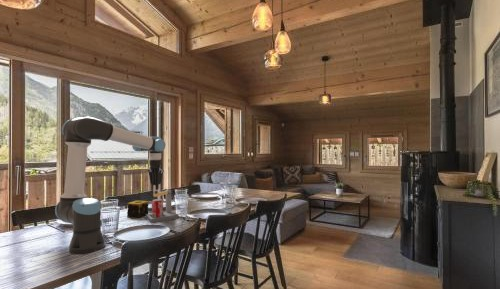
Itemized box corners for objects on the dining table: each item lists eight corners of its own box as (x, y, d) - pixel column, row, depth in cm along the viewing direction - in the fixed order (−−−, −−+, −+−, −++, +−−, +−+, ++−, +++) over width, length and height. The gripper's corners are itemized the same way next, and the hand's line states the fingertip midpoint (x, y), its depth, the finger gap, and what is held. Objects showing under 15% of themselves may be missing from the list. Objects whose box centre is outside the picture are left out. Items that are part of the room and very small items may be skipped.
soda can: (159, 220, 180) (159, 201, 180) (149, 220, 182) (149, 200, 182) (165, 217, 187) (165, 198, 187) (155, 217, 189) (155, 198, 189)
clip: (168, 192, 196) (168, 188, 196) (172, 193, 194) (172, 188, 194) (152, 196, 183) (152, 191, 183) (156, 196, 181) (156, 191, 181)
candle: (126, 217, 189) (126, 203, 189) (136, 214, 199) (136, 200, 199) (139, 218, 186) (139, 204, 186) (148, 215, 196) (148, 201, 196)
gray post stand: (151, 222, 176) (150, 199, 176) (145, 217, 188) (145, 195, 187) (178, 218, 186) (178, 195, 186) (171, 213, 198) (171, 192, 198)
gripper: (144, 159, 185) (144, 194, 185) (157, 160, 179) (158, 196, 179) (153, 159, 192) (153, 192, 192) (166, 159, 185) (167, 194, 185)
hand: (155, 194), depth 185 cm, fingers closed
